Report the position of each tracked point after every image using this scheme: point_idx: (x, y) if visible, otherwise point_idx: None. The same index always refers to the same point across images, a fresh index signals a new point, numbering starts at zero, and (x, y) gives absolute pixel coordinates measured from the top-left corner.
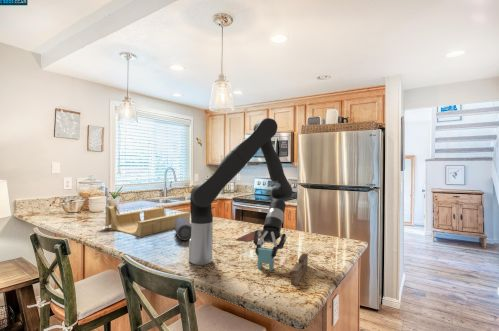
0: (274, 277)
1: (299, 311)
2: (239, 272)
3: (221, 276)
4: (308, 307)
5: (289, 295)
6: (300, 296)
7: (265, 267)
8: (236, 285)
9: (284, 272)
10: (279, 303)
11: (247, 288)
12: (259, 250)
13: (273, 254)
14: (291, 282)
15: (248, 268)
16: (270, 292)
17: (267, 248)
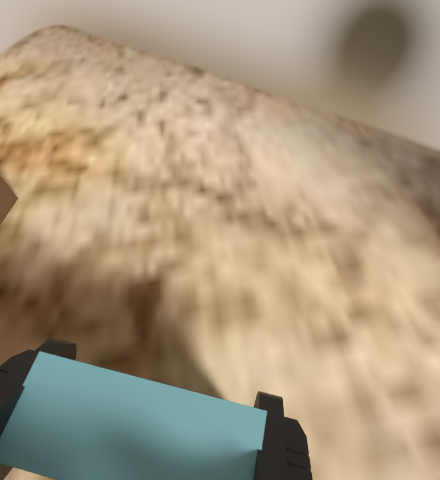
0: (104, 271)
1: (47, 43)
2: (355, 309)
3: (433, 232)
4: (6, 60)
5: (56, 112)
6: (9, 111)
7: None
8: (306, 155)
9: None
10: (109, 68)
11: (247, 139)
12: (238, 407)
13: None
14: (9, 191)
15: (317, 404)
16: (139, 123)
17: (102, 466)
